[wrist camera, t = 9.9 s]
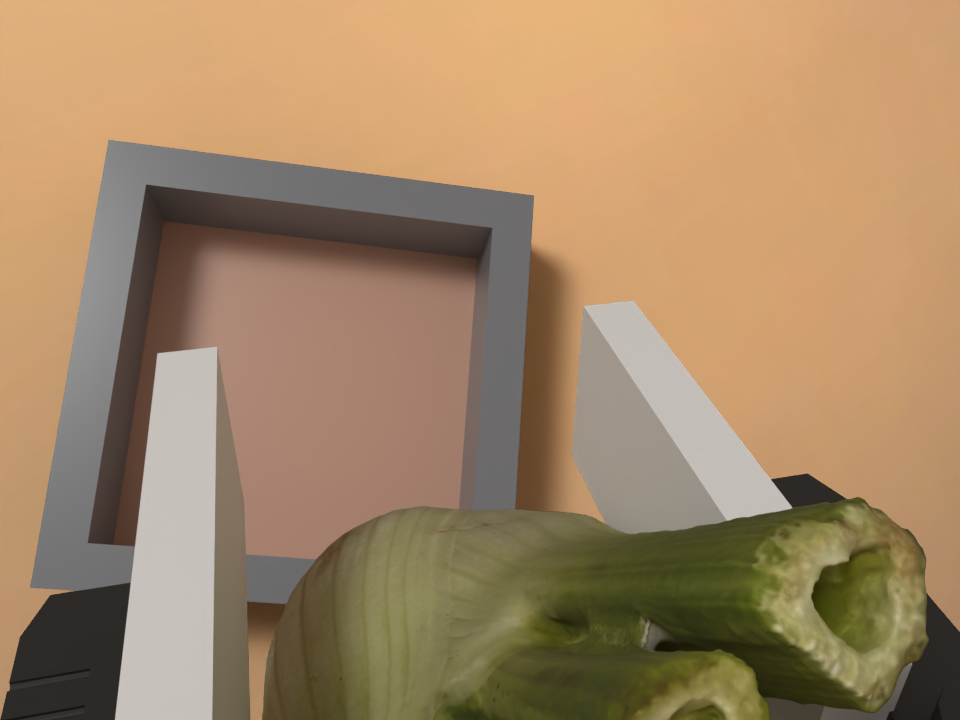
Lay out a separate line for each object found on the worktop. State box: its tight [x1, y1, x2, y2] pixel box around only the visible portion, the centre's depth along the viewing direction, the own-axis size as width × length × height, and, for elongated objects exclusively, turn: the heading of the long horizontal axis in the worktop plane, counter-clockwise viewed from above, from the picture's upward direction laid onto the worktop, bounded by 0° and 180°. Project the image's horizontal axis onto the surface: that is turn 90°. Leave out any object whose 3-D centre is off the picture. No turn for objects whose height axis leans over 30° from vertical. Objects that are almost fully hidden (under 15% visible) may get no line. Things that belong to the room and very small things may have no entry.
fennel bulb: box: [262, 497, 929, 720], centre depth 11 cm, size 6×5×12 cm
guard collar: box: [30, 140, 534, 604], centre depth 27 cm, size 12×12×4 cm
